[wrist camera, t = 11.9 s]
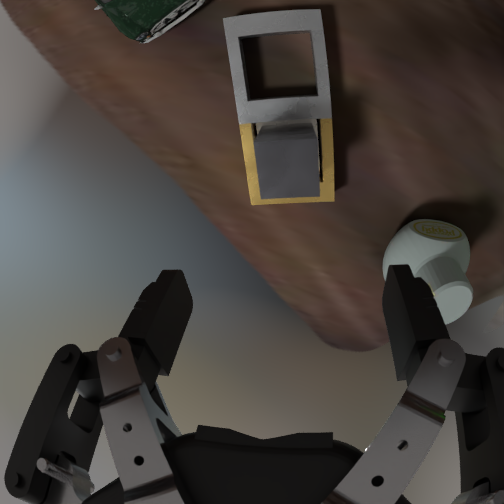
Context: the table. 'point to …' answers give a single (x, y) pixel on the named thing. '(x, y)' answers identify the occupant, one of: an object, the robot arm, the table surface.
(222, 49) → the table surface
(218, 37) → the table surface
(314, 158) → the grey block
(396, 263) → the air freshener
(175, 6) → the miniature car
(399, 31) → the table surface
